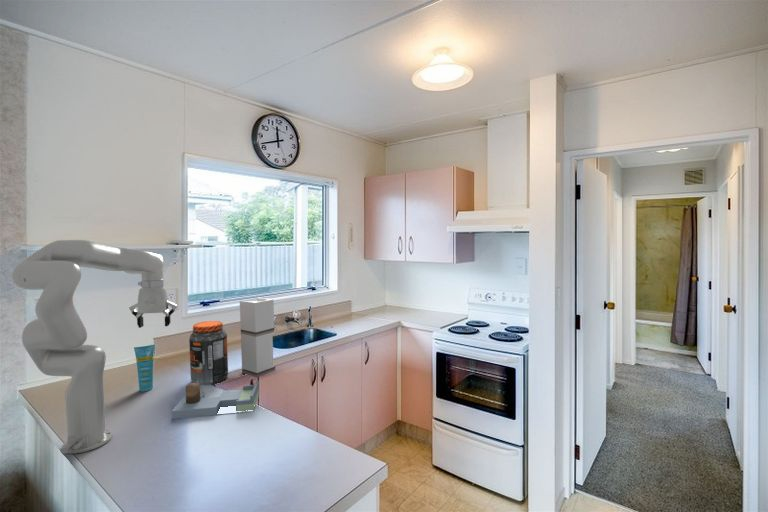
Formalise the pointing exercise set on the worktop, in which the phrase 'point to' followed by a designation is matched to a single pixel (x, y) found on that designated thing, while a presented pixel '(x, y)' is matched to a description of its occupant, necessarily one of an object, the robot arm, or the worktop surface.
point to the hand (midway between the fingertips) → (154, 326)
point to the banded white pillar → (257, 336)
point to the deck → (218, 402)
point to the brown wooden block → (192, 393)
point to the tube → (145, 366)
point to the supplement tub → (208, 352)
